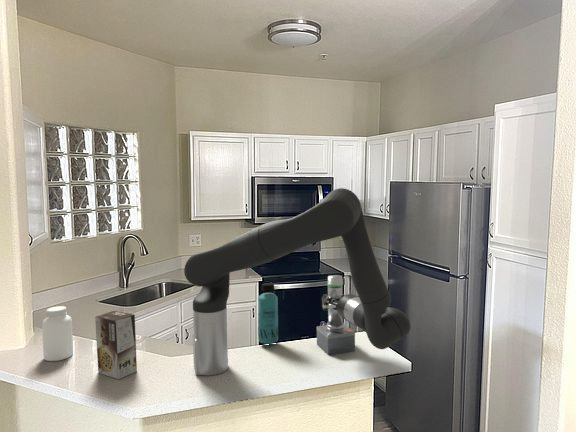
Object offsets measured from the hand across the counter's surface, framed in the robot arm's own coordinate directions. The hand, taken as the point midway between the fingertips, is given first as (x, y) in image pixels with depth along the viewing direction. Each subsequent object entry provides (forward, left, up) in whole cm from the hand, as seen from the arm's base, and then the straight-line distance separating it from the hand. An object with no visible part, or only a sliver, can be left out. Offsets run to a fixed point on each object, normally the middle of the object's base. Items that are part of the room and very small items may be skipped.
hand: (331, 296), depth 132 cm
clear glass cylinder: (0, -3, -9) cm, 9 cm away
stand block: (0, -3, -16) cm, 16 cm away
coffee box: (-64, +2, -16) cm, 66 cm away
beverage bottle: (-19, +7, -16) cm, 26 cm away
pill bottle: (-82, +20, -16) cm, 86 cm away
